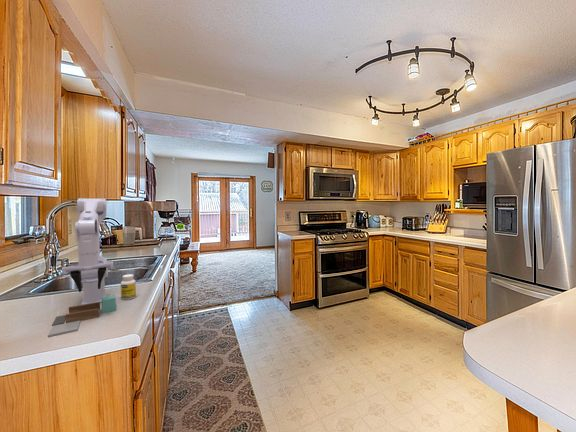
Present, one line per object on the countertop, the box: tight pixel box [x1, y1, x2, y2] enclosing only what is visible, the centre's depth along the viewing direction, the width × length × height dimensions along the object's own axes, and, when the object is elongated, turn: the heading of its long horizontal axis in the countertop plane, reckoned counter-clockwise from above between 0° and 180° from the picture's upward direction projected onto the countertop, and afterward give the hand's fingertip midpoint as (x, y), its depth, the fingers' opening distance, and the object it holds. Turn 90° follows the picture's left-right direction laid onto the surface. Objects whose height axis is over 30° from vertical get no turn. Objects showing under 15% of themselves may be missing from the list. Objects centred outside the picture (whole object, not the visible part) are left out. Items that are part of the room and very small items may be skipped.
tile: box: [47, 320, 81, 338], centre depth 81 cm, size 7×7×1 cm
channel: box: [64, 302, 101, 323], centre depth 91 cm, size 8×9×3 cm
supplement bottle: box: [120, 273, 137, 301], centre depth 108 cm, size 5×5×10 cm
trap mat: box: [51, 314, 66, 327], centre depth 87 cm, size 7×3×1 cm, turn 34°
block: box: [101, 294, 117, 314], centre depth 96 cm, size 4×4×5 cm
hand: (89, 289), depth 91 cm, fingers open, 5 cm apart
